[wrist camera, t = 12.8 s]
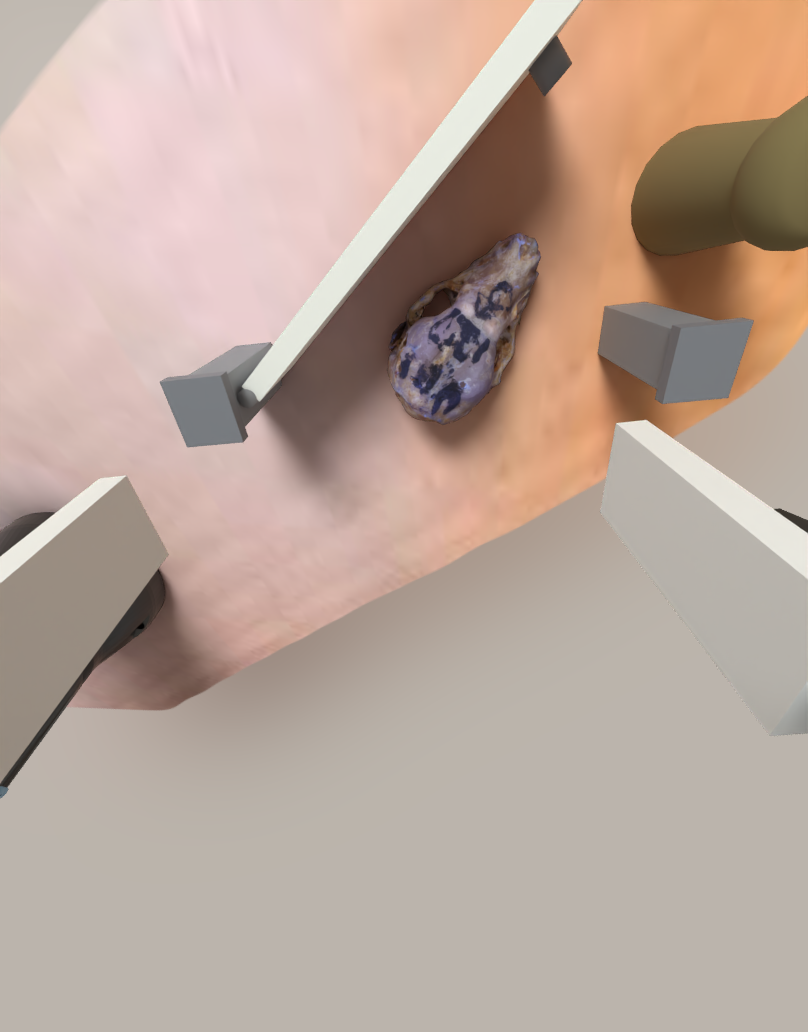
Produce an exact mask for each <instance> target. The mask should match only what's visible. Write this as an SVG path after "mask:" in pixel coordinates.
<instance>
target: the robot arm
mask: <svg viewBox="0 0 808 1032" xmlns="http://www.w3.org/2000/svg"><path fill="white" fill-rule="evenodd" d="M600 513H601V514H602V516H603V517H604V518H605V520H606V521H607V522H608V524H609V525H610V526H611V528H612V529H613V530H614V532H615V533H616V534H617V536H618V537H619V538H620V539H621V541H622V542H623V543H624V545H625V546H626V547H627V549H628V550H629V551H630V552H631V554H632V555H633V557H634V558H635V559H636V561H637V562H638V563H639V565H640V566H641V567H642V568H643V570H644V571H645V572H646V574H647V575H648V576H649V578H650V579H651V580H652V581H653V583H654V584H655V586H656V587H657V588H658V589H659V591H660V592H661V593H662V595H663V596H664V597H665V599H666V600H667V601H668V603H669V604H670V605H671V607H672V608H673V609H674V611H675V612H676V613H677V615H678V616H679V617H680V618H681V620H682V621H683V622H684V624H685V625H686V626H687V628H688V629H689V630H690V631H691V633H692V634H693V636H694V637H695V638H696V640H697V641H698V642H699V644H700V645H701V646H702V648H703V649H704V650H705V651H706V653H707V654H708V655H709V657H710V658H711V659H712V661H713V662H714V663H715V664H716V666H717V667H718V669H719V670H720V671H721V672H722V674H723V675H724V677H725V678H726V679H727V680H728V682H729V683H730V684H731V686H732V687H733V688H734V690H735V691H736V692H737V694H738V695H739V696H740V698H741V699H742V700H743V701H744V702H745V704H746V706H747V707H748V708H749V709H750V711H751V712H752V713H753V715H754V716H755V717H756V719H757V720H758V721H759V723H760V724H761V725H762V727H763V728H764V729H765V730H766V732H767V733H768V734H769V736H776V735H790V734H805V733H808V520H806V519H803V518H801V517H799V516H796V515H794V514H791V513H789V512H787V511H784V510H782V509H772V508H771V507H769V506H768V505H767V504H765V503H764V502H762V501H761V500H760V499H758V498H757V497H755V496H754V495H752V494H751V493H750V492H748V491H747V490H745V489H744V488H742V487H741V486H740V485H738V484H737V483H735V482H734V481H732V480H731V479H730V478H728V477H727V476H725V475H724V474H723V473H721V472H720V471H718V470H717V469H715V468H714V467H713V466H711V465H710V464H708V463H707V462H705V461H704V460H703V459H701V458H700V457H698V456H697V455H695V454H694V453H692V452H691V451H689V450H688V449H687V448H685V447H684V446H683V445H681V444H680V443H678V442H677V441H675V440H674V439H673V438H671V437H670V436H668V435H667V434H666V433H664V432H663V431H661V430H660V429H658V428H657V427H656V426H654V425H653V424H651V423H650V422H649V421H647V420H641V421H632V422H623V423H616V426H615V432H614V437H613V443H612V449H611V454H610V460H609V465H608V471H607V476H606V482H605V488H604V493H603V499H602V504H601V510H600ZM168 555H169V554H168V552H167V550H166V548H165V547H164V545H163V543H162V541H161V539H160V537H159V535H158V533H157V532H156V530H155V528H154V526H153V524H152V522H151V520H150V519H149V517H148V515H147V513H146V511H145V509H144V507H143V505H142V504H141V502H140V500H139V498H138V496H137V494H136V492H135V490H134V489H133V487H132V485H131V483H130V481H129V479H128V477H127V476H117V477H108V478H99V479H98V480H97V481H96V482H94V483H93V484H92V485H91V486H89V487H88V488H87V489H85V490H84V491H83V492H82V493H80V494H79V495H78V496H77V497H75V498H74V499H73V500H72V501H70V502H69V503H68V504H66V505H65V506H64V507H63V508H61V509H60V510H59V511H58V512H56V513H54V512H45V513H35V514H30V515H27V516H24V517H21V518H19V519H17V520H15V521H14V522H12V523H11V524H10V525H8V526H7V527H5V528H4V529H3V530H1V531H0V798H2V797H3V796H4V795H5V794H6V793H7V791H8V788H7V787H8V786H9V785H10V783H11V782H12V780H13V779H14V778H15V776H16V775H17V774H18V772H19V771H20V769H21V768H22V767H23V765H24V764H25V763H26V761H27V760H28V759H29V757H30V756H31V754H32V753H33V752H34V750H35V749H36V747H37V746H38V745H39V743H40V742H41V741H42V739H43V738H44V737H45V735H46V734H47V732H48V731H49V730H50V728H51V727H52V726H53V724H54V723H55V722H56V720H57V719H58V717H59V716H60V715H61V713H62V712H63V711H64V709H65V708H66V707H67V705H68V704H69V702H70V701H71V700H72V698H73V697H74V696H75V694H76V693H77V692H78V690H79V689H80V687H81V686H82V684H83V683H84V682H85V680H86V679H87V678H88V676H89V675H90V674H91V672H92V671H93V670H94V669H95V668H96V667H97V666H98V665H99V664H101V663H102V662H103V661H105V660H106V659H107V658H109V657H110V656H111V655H113V654H114V653H115V652H117V651H118V650H119V649H121V648H122V647H123V646H125V645H126V644H127V643H128V642H130V641H131V640H132V639H133V638H135V637H136V636H138V635H139V634H140V633H142V632H143V631H144V630H145V629H146V628H147V627H148V626H149V625H150V623H151V622H152V620H153V619H154V618H155V616H156V615H157V613H158V612H159V610H160V609H161V607H162V605H163V602H164V596H165V591H164V585H163V581H162V578H161V576H160V574H159V572H158V568H159V567H160V565H161V564H162V563H163V561H164V560H165V559H166V557H167V556H168Z"/></svg>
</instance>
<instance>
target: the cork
mask: <svg viewBox="0 0 808 1032" xmlns="http://www.w3.org/2000/svg"><path fill="white" fill-rule="evenodd" d="M631 215H632V226H633V229H634V232H635V235H636V238H637V240H638V241H639V242H640V243H641V244H642V245H643V246H644V247H645V249H646V250H648V251H650V252H653V253H655V254H657V255H679V254H684V253H688V252H693V251H698V250H702V249H707V248H711V247H716V246H721V245H725V244H730V243H735V242H739V241H744V240H745V241H747V242H748V243H750V244H752V245H754V246H757V247H759V248H761V249H763V250H769V251H795V250H798V249H802V248H805V247H808V96H807V97H805V98H804V99H802V100H801V101H800V102H798V103H797V104H796V105H794V106H793V107H791V108H790V109H789V110H787V111H786V112H785V113H783V114H782V115H781V116H779V117H778V118H771V119H762V120H752V121H742V122H733V123H723V124H713V125H704V126H696V127H694V128H691V129H688V130H686V131H683V132H681V133H678V134H677V135H676V136H674V137H673V138H672V139H670V140H669V141H668V142H667V143H665V144H664V145H663V146H661V147H660V149H659V150H658V151H657V152H656V153H655V155H654V156H653V157H652V158H651V160H650V161H649V162H648V163H647V165H646V166H645V168H644V170H643V172H642V174H641V176H640V178H639V181H638V183H637V185H636V188H635V192H634V196H633V200H632V205H631Z"/></svg>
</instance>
